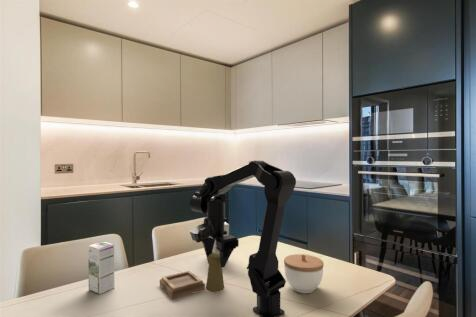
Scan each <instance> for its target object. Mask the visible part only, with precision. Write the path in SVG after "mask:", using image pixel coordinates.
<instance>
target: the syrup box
mask: <svg viewBox="0 0 476 317" xmlns="http://www.w3.org/2000/svg"><path fill="white" fill-rule="evenodd" d="M87 249H88V252H87V253H88V258H87V260H88V291H90V292H93V293H95V294H98V295H101V294H103V293H106V292H108V291H110V290H113V289H114V288H115V244H114V243H110V242H106V241H98V242H95V243H93V244H89V245H88V248H87Z"/></svg>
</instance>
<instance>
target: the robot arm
mask: <svg viewBox="0 0 476 317" xmlns="http://www.w3.org/2000/svg"><path fill="white" fill-rule="evenodd" d="M253 178H255V179H256V180H257V182H258V183H260V184H262V185H263V192H264V195H265V199H266V207H265V211H264V212H265V213H264V219H263V224H262V229H261V234H260V238H259V246H258V250H257V252H254V253H252V254H250V255H249V257H248V264H247V266H246V269H247V275H248V278H249V282H250V285H251V290H252V293H254V294H256V306H255V307H252V311H254V312H255V313H256V314H257V315H259V316H260V317H278V316H281V315H284V314H285V310H284V309H282V308H281V291H280V289H283V288H285V286H286V283H287V279H286V278H285V277H284V276H283V275H282V272H281V271H280V269H279V259H278V257H277V249H278V243H279V238H280V232H281V228H282V222H283V218H284V211H285V207H286V204H287V202H288V201H289V200H290V199H291V197H292V195H293V193H294V190H295V187H296V186H297V185H296V184H297V179H296V177H295V175H294V174H293V173H292V172H291V171H290V170H283V169H282V168H279V167H278V166H277V167H276V166H274V165H272V164H269V163H268V162H265V161H264V160H251V161H250V162H249V163H246V164H244V165H242V166H240V167H238V168H235V169H234V170H231V171H229V172H226V173H225V174H220V175H215V176H207V177H206V178H205V179H204V183H203V185H202V186H201V188H200V190H199V191H194V192H193V196H191V198H190V200H189V203H188V204H189V209H190V210H191V211H193V212H197V213H202V214H206V217H204V219H203V223H201V224H198V225H196V226H195V227H193V228H192V229H189V233H190V236H191V237H190V238H192V241H194V242H195V243H202V246H203V249H204V253H205V257H206V259H207V258H208V256H209V255H210V254H212V251H213V246H214V242H215V240H216V246H217V247H216V249H217V250H218V251H219V253H220V264H221V268H222V269H223V268H225V267H226V265H227V263H228V261H229V259H230V257H231V255H232V253H233V252H234V250H235V249H236V248H239V242H240V241H239V239H238V238H237V237H236V236H234V235H231V234H229V235H227V236H223V235H226V234H227V231H225V230H224V222H226V223H227V222H228V218H227V217H225V212H226V211H225V210H226V208H225V207H226V206H225V203H226V204H227V203H230V198H229V197H227V196H226V195H225V193H227V192H229V191H230V190H231V189H232V188H233V186H235V185H237V184H240V183H242V182H245V181H247V180H250V179H253Z"/></svg>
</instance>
